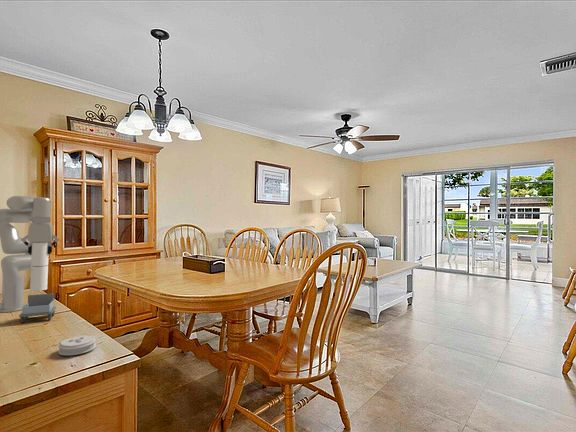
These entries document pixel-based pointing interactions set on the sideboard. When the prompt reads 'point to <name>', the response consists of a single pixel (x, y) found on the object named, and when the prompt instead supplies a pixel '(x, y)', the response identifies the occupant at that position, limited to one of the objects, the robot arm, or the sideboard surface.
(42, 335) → the sideboard surface
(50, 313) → the grey open box
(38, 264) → the cylindrical container
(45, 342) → the sideboard surface
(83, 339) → the lid
